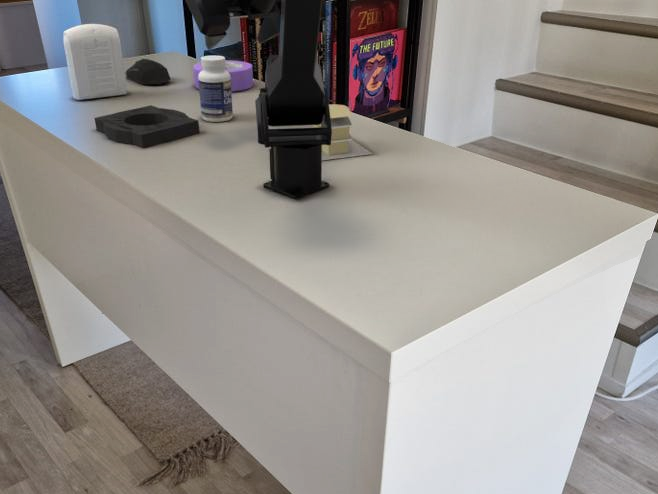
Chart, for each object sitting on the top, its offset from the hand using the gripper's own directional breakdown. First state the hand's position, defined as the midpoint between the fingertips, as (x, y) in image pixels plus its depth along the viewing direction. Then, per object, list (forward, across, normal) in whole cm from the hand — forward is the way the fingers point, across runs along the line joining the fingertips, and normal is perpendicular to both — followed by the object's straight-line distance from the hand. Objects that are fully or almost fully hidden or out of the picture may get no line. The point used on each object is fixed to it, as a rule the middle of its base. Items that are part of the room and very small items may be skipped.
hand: (233, 43), depth 104 cm
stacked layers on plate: (-3, -6, +21) cm, 23 cm away
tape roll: (+28, -13, -10) cm, 32 cm away
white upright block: (+32, +11, -14) cm, 37 cm away
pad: (+14, +13, +4) cm, 20 cm away
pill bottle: (+14, 0, +4) cm, 15 cm away
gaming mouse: (+38, -2, -20) cm, 43 cm away
